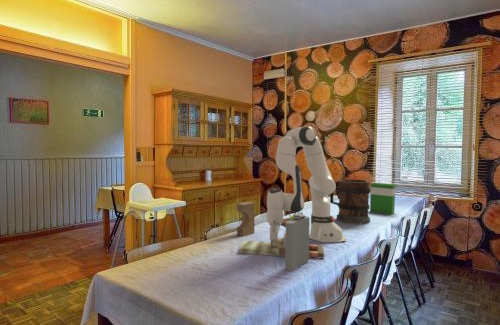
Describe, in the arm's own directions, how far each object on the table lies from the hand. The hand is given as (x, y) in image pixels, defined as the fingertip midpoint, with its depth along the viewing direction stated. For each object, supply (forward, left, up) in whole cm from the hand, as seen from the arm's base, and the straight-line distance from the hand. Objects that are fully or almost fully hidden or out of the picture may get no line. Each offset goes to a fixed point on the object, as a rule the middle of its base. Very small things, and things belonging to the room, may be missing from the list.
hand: (274, 243), depth 178 cm
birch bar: (-6, 0, -1) cm, 6 cm away
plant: (-10, -61, -5) cm, 62 cm away
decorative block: (+21, -29, -4) cm, 36 cm away
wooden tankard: (-50, -81, -4) cm, 95 cm away
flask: (-12, +19, -4) cm, 23 cm away
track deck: (-4, 0, -4) cm, 6 cm away
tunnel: (-9, 0, -1) cm, 9 cm away
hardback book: (-81, -113, -4) cm, 139 cm away
